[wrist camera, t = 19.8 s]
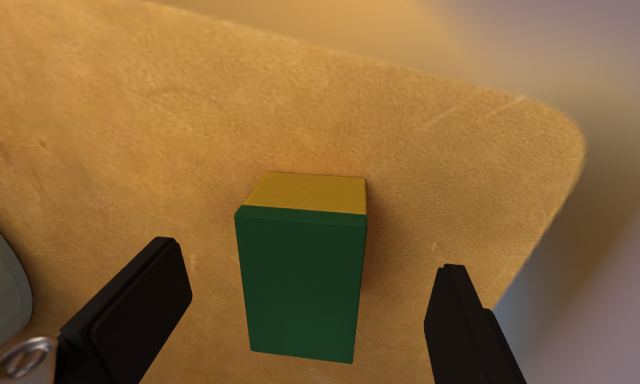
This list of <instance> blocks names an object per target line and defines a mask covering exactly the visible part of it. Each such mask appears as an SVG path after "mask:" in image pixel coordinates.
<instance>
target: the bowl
mask: <svg viewBox="0 0 640 384" xmlns="http://www.w3.org/2000/svg"><path fill="white" fill-rule="evenodd" d="M32 309H33V299H32V292H31V288H30V285H29V282H28V278H27V276H26V274H25V272H24V270H23V267H22V265H21V263H20V262H19V260H18V258H17V257H16V255H15V253H14V252H13V250H12V248H11V247H10V246H9V244H8V243H7V242H6V240H5V239H4V238H3V236H2V235H1V234H0V350H1V349H2V348H3V347H4V346H6V345H7V344H8V343H9V342H10V341H12V339H13V338H14V337H15V336H16V335H17V334H18V333H20V332H21V331H22V330H23V329H24V328H25V327H26V325H27V323H28V322H29V320H30V317H31V314H32Z"/></svg>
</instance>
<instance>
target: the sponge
mask: <svg viewBox="0 0 640 384" xmlns="http://www.w3.org/2000/svg"><path fill="white" fill-rule="evenodd" d="M234 220H235V228H236V236H237V244H238V252H239V260H240V268H241V276H242V284H243V292H244V300H245V308H246V316H247V324H248V332H249V340H250V348H251V351H255V352H263V353H270V354H278V355H286V356H294V357H301V358H309V359H317V360H325V361H332V362H340V363H348V364H352V362H353V354H354V344H355V335H356V326H357V317H358V308H359V299H360V289H361V280H362V271H363V262H364V253H365V244H366V235H367V208H366V184H365V178H355V177H340V176H325V175H310V174H295V173H280V172H266V173H265V175H264V176H263V177H262V179H261V180H260V181H259V183H258V184H257V185H256V187H255V188H254V189H253V191H252V192H251V193H250V195H249V196H248V197H247V199H246V200H245V201H244V203H243V205H241V207H240V208H239V209H238V211H237V212H236V213H235V215H234Z"/></svg>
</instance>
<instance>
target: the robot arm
mask: <svg viewBox="0 0 640 384" xmlns="http://www.w3.org/2000/svg"><path fill="white" fill-rule="evenodd" d="M191 301H192V290H191V286H190V283H189V279H188V275H187V271H186V267H185V264H184V260H183V256H182V252H181V248H180V245H179V243H178V242H176V240H175V239H174V238H169V237H159V236H158V237H155V238H154V239H153V240H152V241H151V242H150V243H149V244H148V245H147V246H146V247H145V248H144V249H143V250H142V251H141V252H139V253H138V254H137V255H136V256H135V257H134V258H133V259H132V260H131V261H130V262H129V263H128V264H127V265H126V266H125V267H124V268H123V269H122V270H121V271H120V272H119V273H118V274H117V275H116V276H115V277H114V278H113V279H112V280H111V281H109V282H108V283H107V284H106V285H105V286H104V287H103V288H102V289H101V290H100V291H99V292H98V293H97V294H96V295H95V296H94V297H93V298H92V299H91V300H90V301H89V302H88V303H87V304H86V305H85V306H84V307H83V308H82V309H81V310H79V311H78V312H77V313H76V314H75V315H74V316H73V317H72V318H71V319H70V320H69V321H68V322H67V323H66V324H65V325H64V326H63V327H62V328H61V329H60V332H61V334H60V335H59V336H58V337H57V338H55V337H54V336H51V335H38V336H34V337H31V338H28V339H25V340H23V341H21V342H19V343H17V344H15V345H14V346H12V347H10V348H9V349H7V350H6V351H5V352H4V353H2V354H1V355H0V384H139V382H140V381H141V379H142V378H143V376H144V375H145V373H146V371H147V370H148V368H149V367H150V365H151V364H152V362H153V361H154V359H155V358H156V356H157V354H158V353H159V351H160V350H161V348H162V347H163V345H164V344H165V342H166V341H167V339H168V337H169V336H170V334H171V333H172V331H173V330H174V328H175V327H176V325H177V324H178V322H179V320H180V319H181V317H182V316H183V314H184V313H185V311H186V310H187V308H188V306H189V305H190V303H191ZM424 333H425V338H426V342H427V347H428V352H429V357H430V362H431V367H432V371H433V376H434V381H435V384H527V383H526V381H525V379H524V377H523V375H522V373H521V370H520V368H519V366H518V364H517V362H516V360H515V358H514V356H513V354H512V351H511V349H510V347H509V345H508V343H507V341H506V339H505V337H504V334H503V332H502V330H501V328H500V326H499V324H498V322H497V320H496V318H495V315H494V314H493V312H492V311H491V310H490V309H486V308H483V307H482V304H481V302H480V300H479V297H478V295H477V293H476V291H475V288H474V286H473V284H472V282H471V279H470V277H469V275H468V273H467V270H466V268H465V266H463V265H455V264H445V265H444V267H443V268H441V267H439V268H438V270H437V274H436V278H435V282H434V285H433V289H432V293H431V297H430V301H429V304H428V308H427V312H426V316H425V320H424Z"/></svg>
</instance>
